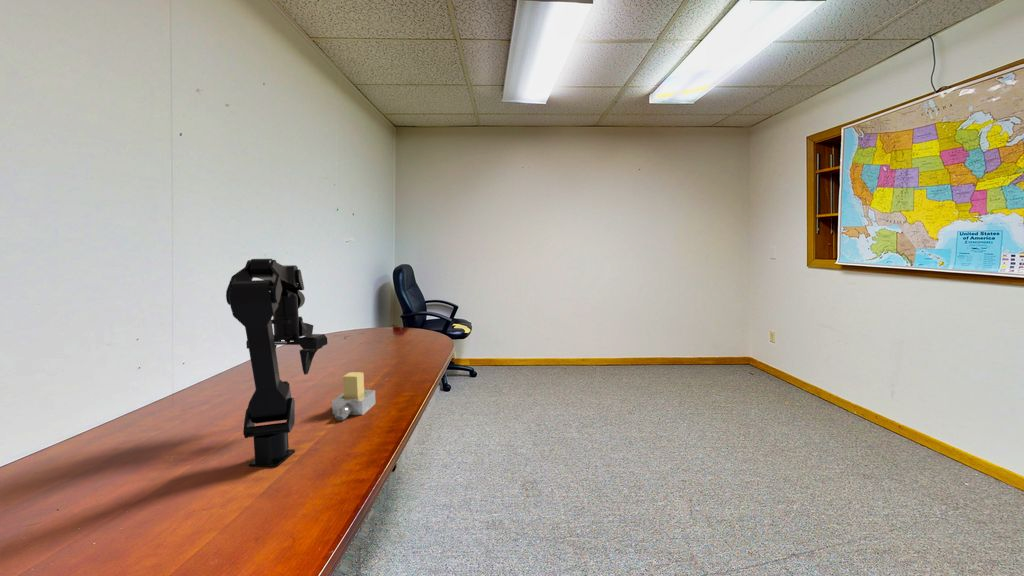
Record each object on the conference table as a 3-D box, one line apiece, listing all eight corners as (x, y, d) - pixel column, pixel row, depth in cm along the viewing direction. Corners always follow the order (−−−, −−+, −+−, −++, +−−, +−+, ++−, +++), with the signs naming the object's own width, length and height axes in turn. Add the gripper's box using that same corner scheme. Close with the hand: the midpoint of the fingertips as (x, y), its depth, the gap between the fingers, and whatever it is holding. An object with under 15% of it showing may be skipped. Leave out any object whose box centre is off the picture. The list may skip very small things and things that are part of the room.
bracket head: (356, 421, 105) (355, 406, 105) (324, 420, 106) (324, 405, 106) (381, 398, 122) (380, 385, 122) (353, 398, 122) (353, 385, 122)
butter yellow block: (358, 411, 112) (356, 376, 111) (344, 411, 112) (342, 376, 111) (364, 406, 116) (363, 372, 115) (351, 406, 116) (349, 372, 115)
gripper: (337, 310, 110) (339, 366, 111) (273, 310, 112) (276, 365, 113) (313, 316, 99) (316, 378, 100) (242, 316, 101) (246, 377, 102)
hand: (289, 374), depth 104 cm, fingers open, 9 cm apart
